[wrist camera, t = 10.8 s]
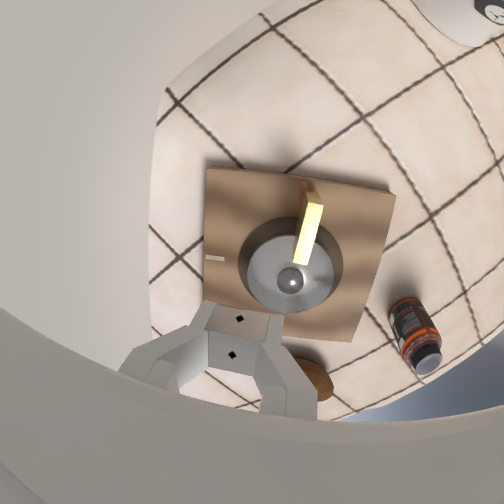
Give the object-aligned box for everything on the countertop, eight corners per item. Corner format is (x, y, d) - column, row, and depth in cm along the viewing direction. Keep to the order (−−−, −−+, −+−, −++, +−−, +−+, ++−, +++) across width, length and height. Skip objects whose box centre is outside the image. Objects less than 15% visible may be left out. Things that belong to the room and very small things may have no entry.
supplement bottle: (380, 320, 37) (398, 375, 27) (403, 290, 34) (430, 342, 24) (406, 331, 37) (426, 383, 27) (428, 303, 35) (457, 353, 24)
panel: (211, 166, 31) (205, 168, 29) (390, 192, 29) (396, 196, 27) (207, 314, 41) (203, 323, 39) (349, 333, 39) (351, 343, 37)
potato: (288, 340, 41) (286, 373, 34) (345, 363, 41) (349, 395, 35) (268, 364, 44) (263, 395, 37) (322, 384, 44) (323, 415, 38)
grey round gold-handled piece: (317, 310, 35) (320, 341, 29) (243, 294, 35) (234, 323, 30) (354, 201, 28) (368, 217, 23) (266, 180, 29) (259, 191, 23)
